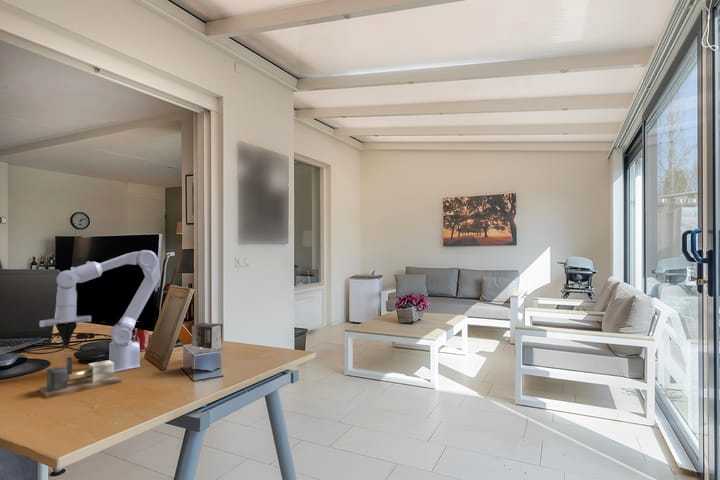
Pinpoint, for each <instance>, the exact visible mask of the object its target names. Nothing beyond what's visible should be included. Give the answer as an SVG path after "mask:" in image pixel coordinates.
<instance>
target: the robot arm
mask: <svg viewBox="0 0 720 480" xmlns="http://www.w3.org/2000/svg"><path fill="white" fill-rule="evenodd" d="M124 265H134V266H135V265H138V266H139V267H140V268H141V269H142V272H143V275H144V278H143V280H142V282H141V283H140V285H139V287H138V289H137V290H136V293H135V294H134V296H133V298H132V299H131V301H130V303H129V305H128V307H127V308H126V310H125V312H124V313H123V315H122V317H121V318H120V319H119V321H118V322H117V323H116V324H114V325H113V327H111V330H110V337H111V342H109V345H108V347H109V349H108V350H109V352H108V353H109V354H108V355H109V356H108V359H109V360H110V361H112V362H113V363H114V373H116V372H121V371H127V370H131V369H137V368H141V365H140V363H141V362H140V361H141V360H140V358H141V357H140V356H141V352H140V347H139V344H138V342H135V341H133V340H132V338H133V337H132V336H133V330H134V329H135V325H136V322H137V320H138V319H139V317H140V315H141V314H142V311H143V310H144V308H145V306H146V304H147V302H148V301H149V299H150V297H151V295H152V294H153V291H154V290H155V287H156V286H157V284H158V283H159V281H160V279H161V270H160V260H159V257H158V256H157V254H156V253H155V252H154V251H152V250H149V249H148V250H147V249H143V250H140V251H133V252H129V253H125V254H123V255H119V256H117V257H114V258H111V259H109V260H105V261H103V262H96V261H90V260H89V261H86V262H85V264H81V265H79V266H76V267H74V266H71V267H70V270H69V269H67V270H63V271H61V272H59V274H58V275H57V276H56V283H57V287H56V290H57V292H56V296H55V297H56V299H55V300H56V302H55V303H56V304H55V307H56V308H55V309H56V310H55V312H56V313H55V318H49V319H42V320H39V325H38V326H39V327H40V328H45V327H49V326H55V328H56V330H57V332H58V333H59V335H60V339H61V342H62V346H63V347H65V346H67V347H68V346H69V345H70V342H71V339H72V336H73V334H74V332H75V330H76V328H77V326H78V325H77V324H78V323H86V322H87V323H90V322H91V323H92V315H77V305H78V304H77V303H78V302H77V301H78V291H77V283H79V284H82V283H85V282H88V281H90V280H93V279H96V278H99V277H101V276H102V274H103V272H106V271H108V270H112V269H114V268H118V267H122V266H124Z"/></svg>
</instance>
